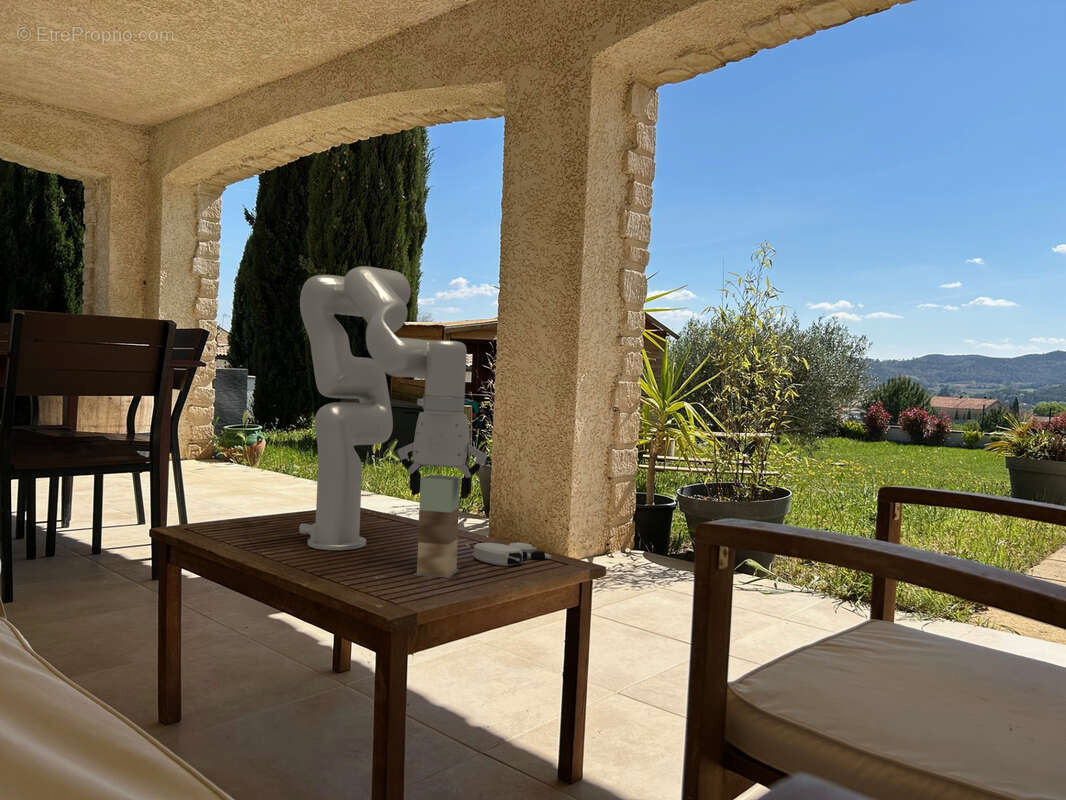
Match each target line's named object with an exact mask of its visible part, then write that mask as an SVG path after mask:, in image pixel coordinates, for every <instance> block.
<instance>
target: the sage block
mask: <svg viewBox="0 0 1066 800" xmlns="http://www.w3.org/2000/svg"><path fill="white" fill-rule="evenodd" d="M460 498H461V476H455V475H454V476H452V475H443V474H442V475H440V474H439V475H438V474H429V475H425V476H423V477H421V483H420V493H419V510H424V511H437V512H450V513H451V512H452V511H454V510H456V509H458V508H459V509H460Z"/></svg>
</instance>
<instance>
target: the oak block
mask: <svg viewBox="0 0 1066 800" xmlns="http://www.w3.org/2000/svg"><path fill="white" fill-rule="evenodd" d="M458 542H459V541H458V538H457V539H456V540H455V541H453V542H452V543H451V544H449V545H446V544H434V543H422V542H418V541H417V558H416V559H417V561H416V562H417V563H416V572H417V574H422V575H421V576H423V575H433V576H432V577H434V576H444V577H443V578H445V577H448V576H449V575H451V574H452V573H453V572H454V571H455V570H456V569H458V567H457V565H458V563H457V562H458V545H459V544H458Z"/></svg>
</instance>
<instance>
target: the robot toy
mask: <svg viewBox="0 0 1066 800" xmlns="http://www.w3.org/2000/svg"><path fill="white" fill-rule="evenodd" d="M465 546H466V547H469V548H473V552H472V553H473V557H474V558H475V559H476V560H478V561H480V562H482V563H487V564H491V565H496V566H501V567H502V566H503V567H509V566H510V567H512V566H516V565H521V564H522V563H523V560H530V559H531V560H534V561H545V559H551V558H552V555H551V554H549V553H545V551H543V550H538V549H537V547H533V545H532V544H530V543H526V542H511V543H509V544H508V545H507V544H503V543H498V542H497V543H495V542H478V543H476V544H475V545H471V544H468V543H466V544H465Z"/></svg>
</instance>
